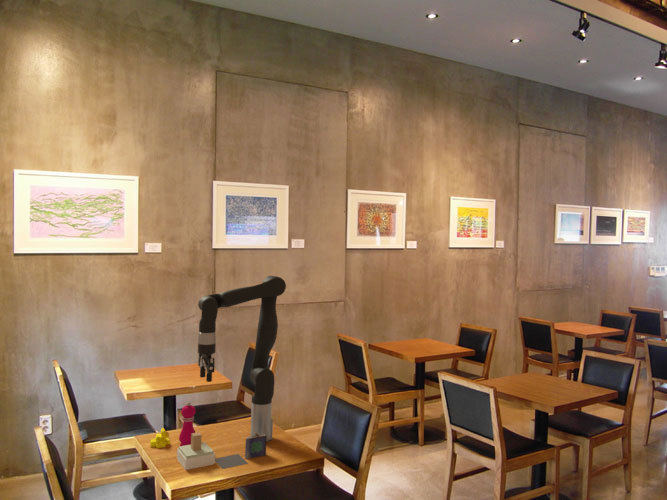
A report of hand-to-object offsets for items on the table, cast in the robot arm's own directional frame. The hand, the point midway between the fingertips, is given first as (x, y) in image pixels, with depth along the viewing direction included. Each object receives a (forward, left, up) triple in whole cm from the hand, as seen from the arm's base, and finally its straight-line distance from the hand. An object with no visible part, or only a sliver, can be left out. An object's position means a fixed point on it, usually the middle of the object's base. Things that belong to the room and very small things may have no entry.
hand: (205, 379), depth 224 cm
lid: (+8, +13, -26) cm, 30 cm away
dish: (+8, +12, -30) cm, 33 cm away
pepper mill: (+6, -4, -30) cm, 31 cm away
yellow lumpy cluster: (+16, -12, -30) cm, 36 cm away
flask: (-16, +19, -30) cm, 39 cm away
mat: (-5, +19, -30) cm, 36 cm away
